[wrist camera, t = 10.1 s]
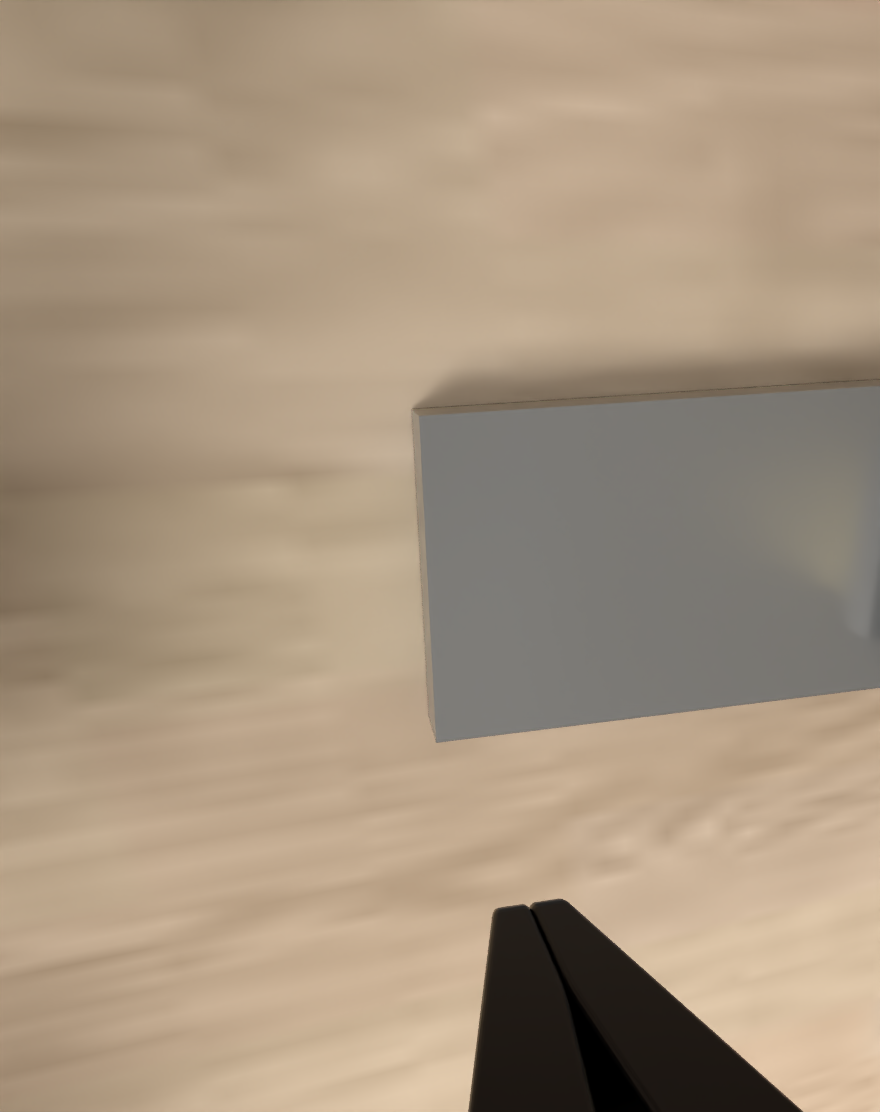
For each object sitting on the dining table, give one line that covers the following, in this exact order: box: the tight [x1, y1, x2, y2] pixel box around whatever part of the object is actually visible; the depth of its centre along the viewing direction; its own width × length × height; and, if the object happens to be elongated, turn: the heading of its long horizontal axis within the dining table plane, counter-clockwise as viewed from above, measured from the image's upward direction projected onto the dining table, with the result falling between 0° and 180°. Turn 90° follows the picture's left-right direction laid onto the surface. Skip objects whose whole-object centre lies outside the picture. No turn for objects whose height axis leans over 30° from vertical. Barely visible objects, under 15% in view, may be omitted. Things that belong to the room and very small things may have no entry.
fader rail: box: [412, 379, 880, 743], centre depth 21 cm, size 20×9×4 cm, turn 93°
